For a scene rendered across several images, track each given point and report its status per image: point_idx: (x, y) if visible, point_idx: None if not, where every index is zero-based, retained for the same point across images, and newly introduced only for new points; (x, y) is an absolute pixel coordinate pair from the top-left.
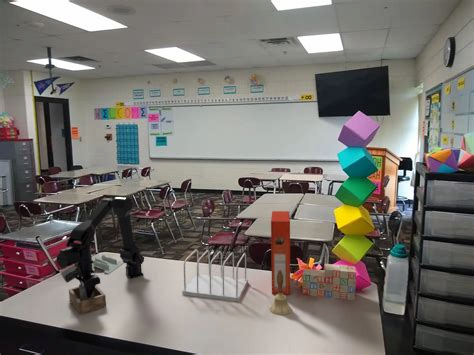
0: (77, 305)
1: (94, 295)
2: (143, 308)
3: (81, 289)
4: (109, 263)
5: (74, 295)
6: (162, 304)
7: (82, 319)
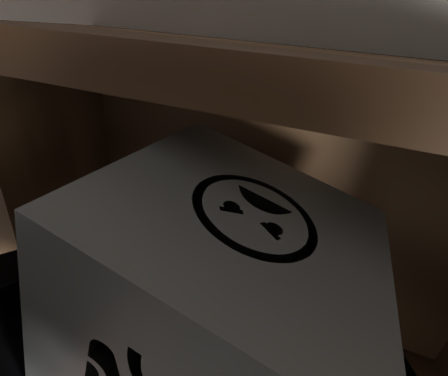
0: (75, 27)
1: None
2: None
3: (21, 252)
4: None
5: (246, 80)
6: None
7: (16, 15)
